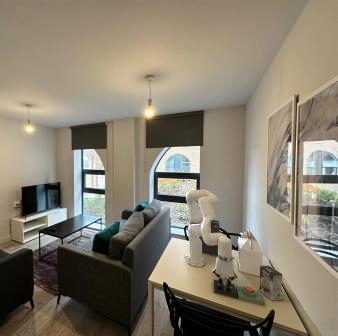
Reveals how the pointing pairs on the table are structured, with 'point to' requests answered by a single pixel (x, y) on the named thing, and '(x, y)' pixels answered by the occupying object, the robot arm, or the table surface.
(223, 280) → the dial
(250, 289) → the button
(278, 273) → the coffee box
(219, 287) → the control panel
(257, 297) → the button housing
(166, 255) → the table surface
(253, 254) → the gable box
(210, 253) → the decorative book
